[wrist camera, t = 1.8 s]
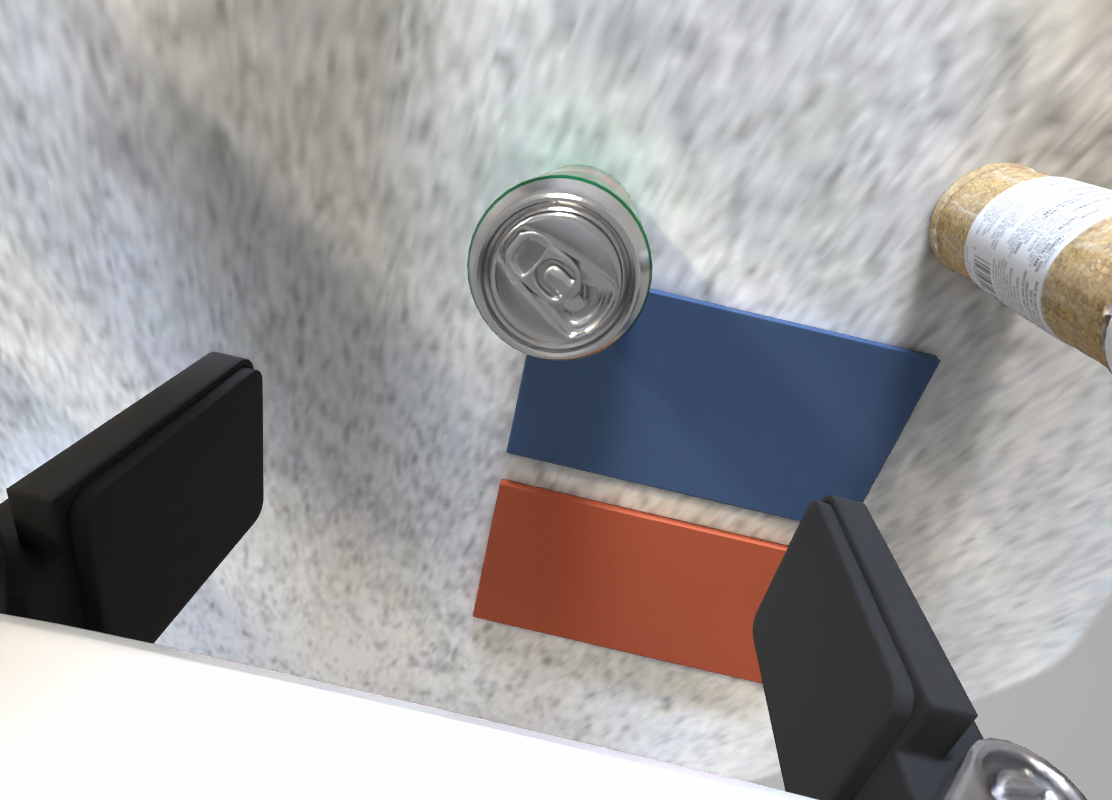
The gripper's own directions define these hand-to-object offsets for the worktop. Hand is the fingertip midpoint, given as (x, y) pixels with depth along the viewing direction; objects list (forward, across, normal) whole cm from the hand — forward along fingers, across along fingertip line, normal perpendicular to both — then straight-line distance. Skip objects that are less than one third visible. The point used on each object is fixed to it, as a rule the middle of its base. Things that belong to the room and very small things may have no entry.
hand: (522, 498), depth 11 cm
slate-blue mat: (+20, -7, +7) cm, 22 cm away
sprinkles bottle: (+20, -15, -4) cm, 25 cm away
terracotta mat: (+20, -7, +19) cm, 28 cm away
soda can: (+19, +1, 0) cm, 19 cm away
